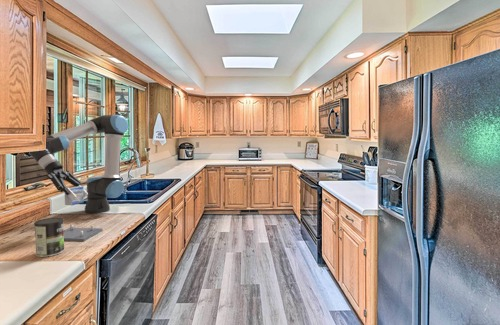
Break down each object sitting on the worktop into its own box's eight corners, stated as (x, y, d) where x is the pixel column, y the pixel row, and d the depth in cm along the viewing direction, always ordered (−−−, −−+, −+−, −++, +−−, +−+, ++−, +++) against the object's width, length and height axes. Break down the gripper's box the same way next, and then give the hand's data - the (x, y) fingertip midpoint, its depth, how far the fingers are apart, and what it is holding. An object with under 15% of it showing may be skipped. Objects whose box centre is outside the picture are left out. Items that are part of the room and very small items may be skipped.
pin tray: (70, 229, 156) (69, 223, 156) (102, 230, 155) (102, 223, 155) (48, 240, 140) (47, 232, 140) (84, 241, 139) (83, 233, 139)
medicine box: (71, 205, 147) (71, 188, 146) (64, 205, 148) (64, 188, 147) (84, 202, 154) (83, 186, 154) (76, 202, 155) (76, 186, 155)
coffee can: (67, 247, 132) (66, 216, 131) (60, 255, 122) (58, 223, 121) (41, 249, 129) (39, 218, 128) (31, 258, 119) (29, 224, 118)
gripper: (60, 168, 162) (88, 198, 161) (29, 171, 141) (61, 206, 140) (69, 159, 161) (97, 189, 161) (39, 161, 140) (71, 195, 140)
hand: (80, 197), depth 151 cm, fingers closed on medicine box, 8 cm apart
